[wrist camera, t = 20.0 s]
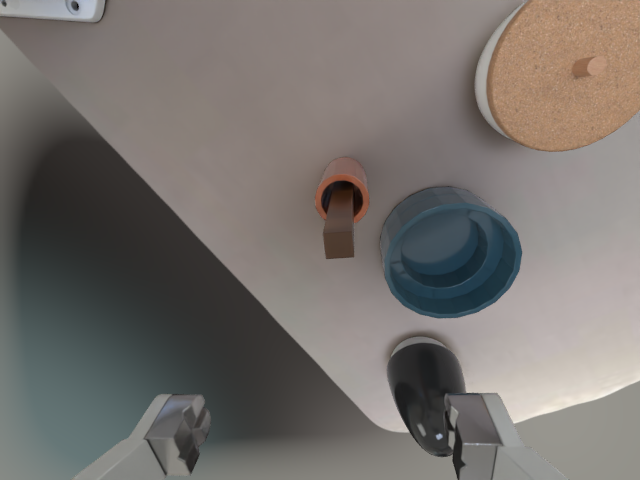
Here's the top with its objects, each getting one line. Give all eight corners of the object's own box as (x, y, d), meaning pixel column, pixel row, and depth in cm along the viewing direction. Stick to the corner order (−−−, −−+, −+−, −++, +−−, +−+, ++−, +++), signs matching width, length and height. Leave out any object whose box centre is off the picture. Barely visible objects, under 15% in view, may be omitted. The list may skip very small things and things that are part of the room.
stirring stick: (337, 189, 39) (325, 259, 22) (336, 173, 38) (322, 233, 22) (354, 188, 38) (354, 257, 22) (352, 171, 38) (351, 231, 21)
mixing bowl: (382, 288, 45) (386, 320, 38) (377, 190, 39) (382, 209, 33) (489, 283, 43) (512, 316, 36) (500, 179, 37) (531, 197, 31)
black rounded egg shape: (449, 377, 50) (485, 483, 37) (383, 374, 51) (394, 476, 38) (458, 326, 46) (502, 424, 32) (385, 324, 47) (398, 419, 33)
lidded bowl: (486, -15, 30) (554, -69, 20) (619, 12, 30) (754, -28, 20) (440, 125, 35) (474, 138, 25) (552, 148, 35) (631, 170, 25)
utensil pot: (325, 200, 40) (318, 228, 32) (320, 159, 38) (311, 177, 30) (367, 197, 39) (370, 224, 31) (364, 154, 37) (367, 171, 29)
